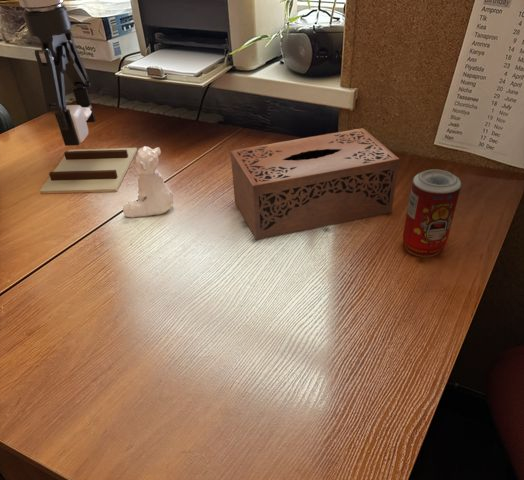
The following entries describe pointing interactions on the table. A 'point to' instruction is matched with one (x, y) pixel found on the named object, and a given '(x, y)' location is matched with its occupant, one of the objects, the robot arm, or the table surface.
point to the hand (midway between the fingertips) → (81, 132)
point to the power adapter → (80, 120)
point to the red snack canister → (430, 211)
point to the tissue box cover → (313, 182)
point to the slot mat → (90, 171)
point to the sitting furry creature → (149, 187)
